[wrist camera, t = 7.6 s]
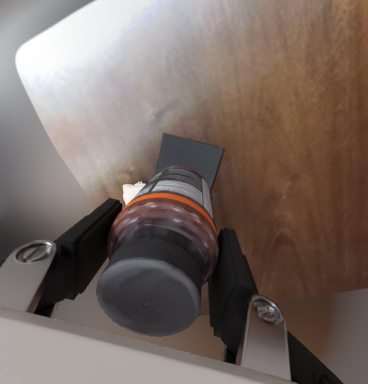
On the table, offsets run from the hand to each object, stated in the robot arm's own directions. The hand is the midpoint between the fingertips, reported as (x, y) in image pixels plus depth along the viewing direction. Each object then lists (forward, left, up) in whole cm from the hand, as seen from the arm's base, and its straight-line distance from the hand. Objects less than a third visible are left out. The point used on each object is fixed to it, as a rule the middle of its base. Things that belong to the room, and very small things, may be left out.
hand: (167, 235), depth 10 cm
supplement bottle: (0, 0, -7) cm, 7 cm away
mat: (0, 0, -18) cm, 18 cm away
